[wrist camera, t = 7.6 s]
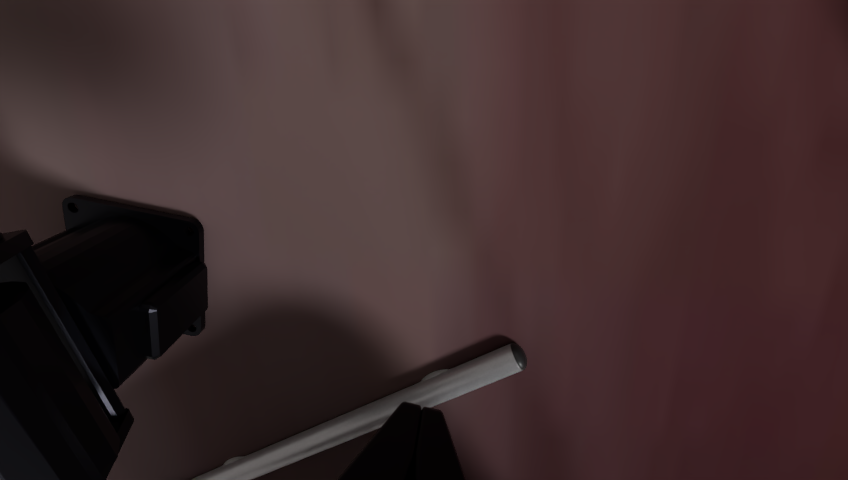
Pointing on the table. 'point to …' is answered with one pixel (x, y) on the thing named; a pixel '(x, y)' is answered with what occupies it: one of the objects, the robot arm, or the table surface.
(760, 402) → the table surface
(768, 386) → the table surface
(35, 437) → the robot arm
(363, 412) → the monitor stand
